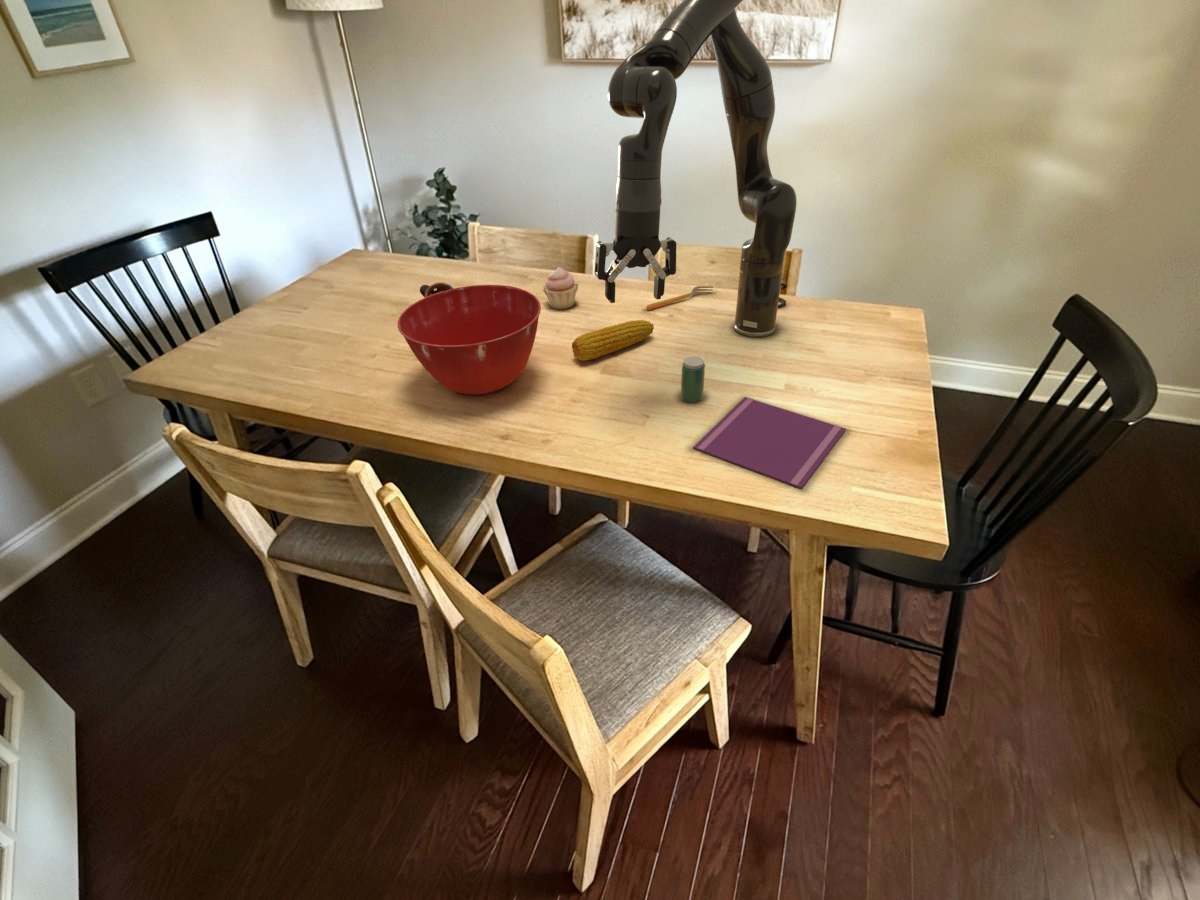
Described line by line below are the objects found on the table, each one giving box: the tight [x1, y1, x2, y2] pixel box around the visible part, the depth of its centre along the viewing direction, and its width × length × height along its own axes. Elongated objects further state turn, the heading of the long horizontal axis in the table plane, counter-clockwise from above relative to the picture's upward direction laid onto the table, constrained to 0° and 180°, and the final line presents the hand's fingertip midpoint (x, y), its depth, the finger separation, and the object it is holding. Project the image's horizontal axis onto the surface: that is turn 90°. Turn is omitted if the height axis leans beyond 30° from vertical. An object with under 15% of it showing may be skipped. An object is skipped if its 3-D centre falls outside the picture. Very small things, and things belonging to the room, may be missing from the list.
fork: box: [645, 285, 714, 311], centre depth 164 cm, size 2×2×20 cm
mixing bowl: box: [397, 284, 542, 396], centre depth 132 cm, size 28×28×15 cm
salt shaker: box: [680, 356, 706, 403], centre depth 125 cm, size 4×4×8 cm
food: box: [571, 319, 655, 362], centre depth 143 cm, size 21×6×6 cm, turn 126°
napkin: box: [692, 396, 847, 490], centre depth 114 cm, size 20×20×1 cm
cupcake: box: [542, 266, 579, 310], centre depth 163 cm, size 9×9×10 cm
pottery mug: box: [419, 282, 454, 298], centre depth 165 cm, size 12×10×8 cm
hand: (634, 299), depth 115 cm, fingers open, 8 cm apart
